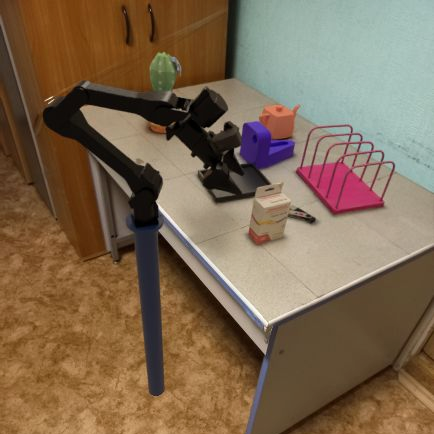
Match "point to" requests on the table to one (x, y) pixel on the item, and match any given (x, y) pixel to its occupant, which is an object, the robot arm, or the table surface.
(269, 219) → the ink cartridge box
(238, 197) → the baking tray
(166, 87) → the potted cactus
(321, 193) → the file sorter
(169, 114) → the robot arm
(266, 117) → the teapot
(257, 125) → the bracket
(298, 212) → the usb flash drive
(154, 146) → the table surface
